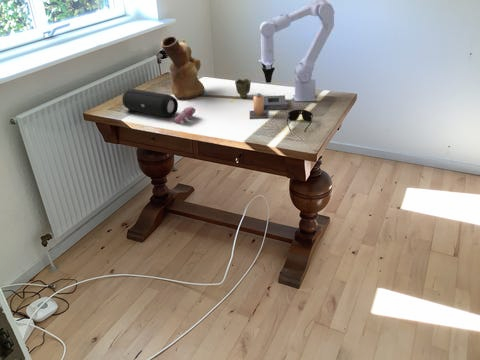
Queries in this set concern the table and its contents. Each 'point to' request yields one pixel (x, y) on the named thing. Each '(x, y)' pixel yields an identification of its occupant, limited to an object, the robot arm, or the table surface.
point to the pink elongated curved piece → (185, 114)
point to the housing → (275, 102)
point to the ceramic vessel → (183, 69)
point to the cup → (243, 87)
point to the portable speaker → (150, 102)
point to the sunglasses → (295, 114)
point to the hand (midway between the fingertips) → (268, 79)
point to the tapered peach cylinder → (258, 104)
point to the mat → (258, 116)
